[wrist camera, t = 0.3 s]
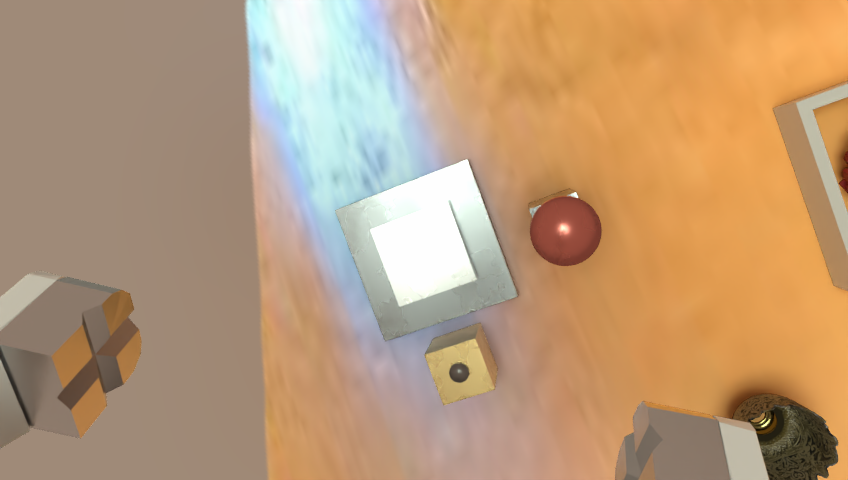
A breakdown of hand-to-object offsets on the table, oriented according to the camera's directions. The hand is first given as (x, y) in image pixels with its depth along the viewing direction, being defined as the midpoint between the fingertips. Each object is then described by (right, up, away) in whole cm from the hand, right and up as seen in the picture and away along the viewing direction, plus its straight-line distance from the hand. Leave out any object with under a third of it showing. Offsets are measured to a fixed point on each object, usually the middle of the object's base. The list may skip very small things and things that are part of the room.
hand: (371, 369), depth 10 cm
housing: (+5, -9, +54) cm, 55 cm away
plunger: (+13, +4, +46) cm, 48 cm away
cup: (+32, -14, +50) cm, 61 cm away
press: (+5, +2, +53) cm, 53 cm away
